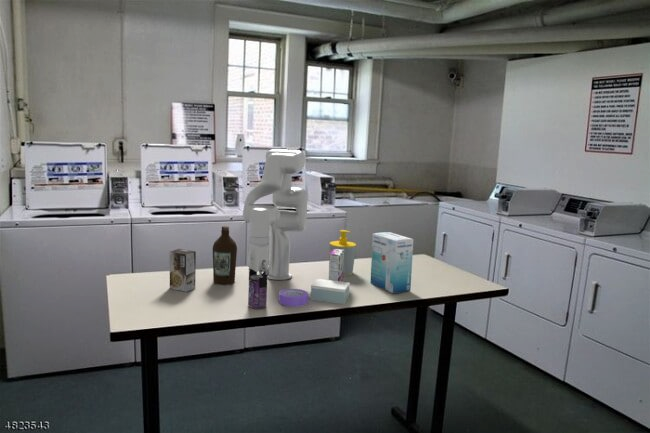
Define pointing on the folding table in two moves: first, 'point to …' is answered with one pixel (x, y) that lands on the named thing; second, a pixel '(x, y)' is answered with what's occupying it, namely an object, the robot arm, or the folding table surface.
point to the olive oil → (224, 258)
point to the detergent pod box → (330, 291)
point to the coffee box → (182, 269)
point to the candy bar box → (336, 265)
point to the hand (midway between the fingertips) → (257, 284)
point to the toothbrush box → (391, 262)
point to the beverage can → (256, 293)
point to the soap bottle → (345, 252)
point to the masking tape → (293, 297)
